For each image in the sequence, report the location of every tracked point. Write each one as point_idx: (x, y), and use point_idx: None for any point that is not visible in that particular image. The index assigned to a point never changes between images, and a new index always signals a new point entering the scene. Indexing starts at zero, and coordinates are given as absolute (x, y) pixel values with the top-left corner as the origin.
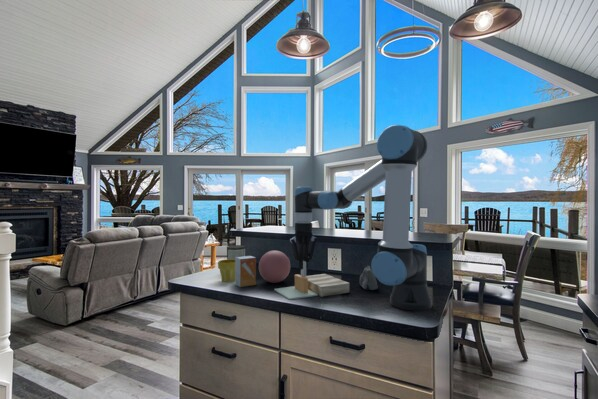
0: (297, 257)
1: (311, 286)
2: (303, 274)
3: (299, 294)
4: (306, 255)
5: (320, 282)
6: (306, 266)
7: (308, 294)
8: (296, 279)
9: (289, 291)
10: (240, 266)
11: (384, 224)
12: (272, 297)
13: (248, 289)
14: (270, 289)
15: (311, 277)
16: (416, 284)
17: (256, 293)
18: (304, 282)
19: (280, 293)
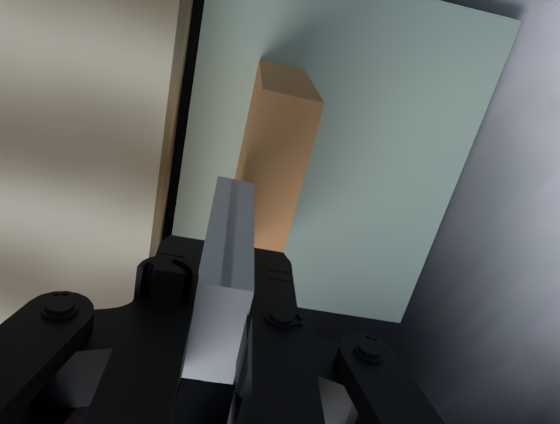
0: (406, 389)
1: (172, 113)
2: (252, 199)
3: (363, 64)
4: (162, 380)
5: (72, 52)
6: (182, 254)
7: (298, 3)
8: None
9: (364, 196)
10: None
11: None
12: (548, 175)
13: (507, 417)
14: (402, 344)
15: (40, 282)
16: None
17: (543, 322)
18: (307, 89)
19: (443, 209)
